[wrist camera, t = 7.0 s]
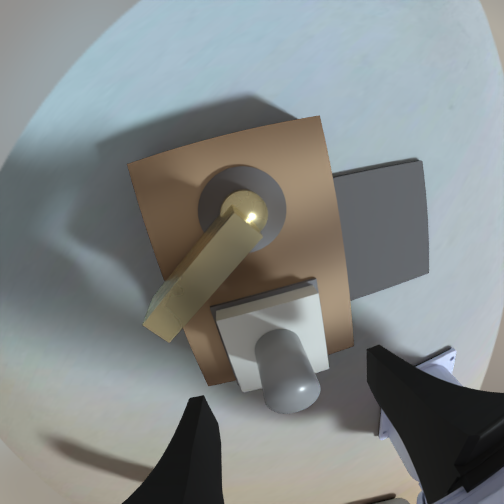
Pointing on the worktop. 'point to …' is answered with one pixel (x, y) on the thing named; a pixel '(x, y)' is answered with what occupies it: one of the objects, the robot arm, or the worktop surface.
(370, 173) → the mat
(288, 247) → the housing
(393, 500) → the ceramic mug
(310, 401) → the cover
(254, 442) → the worktop surface
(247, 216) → the lever handle
